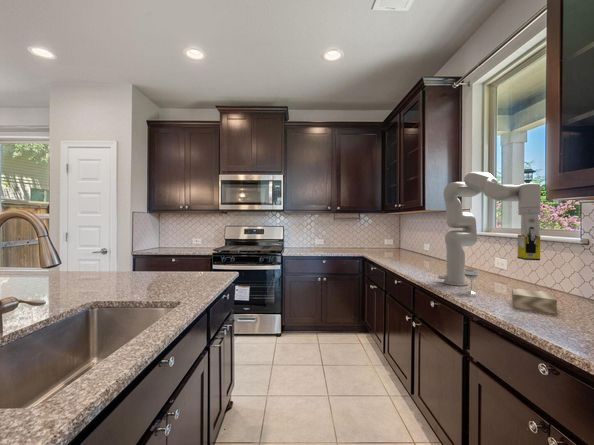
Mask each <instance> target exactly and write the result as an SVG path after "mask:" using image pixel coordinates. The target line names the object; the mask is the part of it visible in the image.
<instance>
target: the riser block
mask: <svg viewBox="0 0 594 445" xmlns="http://www.w3.org/2000/svg"><path fill="white" fill-rule="evenodd" d="M557 300H558V299H557V298H556V296H555V295H554V294H553V292H549V291H541V290H540V291H539V290H531V289H524V288H523V289H522V288H516V287H515V288H514V287H512V288H511V303H512V308H514V309H521V310H528V311H533V312H534V311H535V312H541V313H547V314H548V313H549V314H557V313H558V311H557V308H558V307H557V306H558V301H557Z"/></svg>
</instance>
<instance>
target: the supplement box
mask: <svg viewBox="0 0 594 445" xmlns="http://www.w3.org/2000/svg"><path fill="white" fill-rule="evenodd" d="M528 236H530V235H528ZM537 237H538V236H536V235H535V241H536V253H526V244H527V237H525V235H522V234H521V233H520V234H517V259H520V260H523V261H541V235H540V234H539V237H538V238H537Z"/></svg>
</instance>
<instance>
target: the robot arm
mask: <svg viewBox="0 0 594 445" xmlns="http://www.w3.org/2000/svg"><path fill="white" fill-rule="evenodd" d="M541 188H542V187H541V184H540V183H535V182H529V183H528V182H526V183H521V184H520V185H519V184H518V185H517V184H516V185H514V184H501V183H498V179H497V178H495V177H494V176H493V175H492V174H491V173H490V172H486V171H485V172H484V171H471V172H469V173H467V174H466V175H465V176H464V178H463V181H454V182H449V183H448V184H446V186H445V187H444V189H443V200H444V203H445V204H444V205H445V215H446V224H447V226H448V227H449V228H451V229H460V230H449V231H447V232H446V234H445V236H444V243H445V248H446V274H445V275H438V276H437V278H438V279H439V280H443V283H444V284H446V285H449V286H457V287H458V286H461V287H463V286H468V283H469V282H467V281H465V280H466V276H465V275H464V272H465V269H466V254H465V251H464V248H463V247H472V246H474V245H476V244H477V240H478V234H477V233H478V232H477V220H476V217H475V216H474V214H473V213H471V212H468V211H465V212H464V211H463V205H462V202H461V200H460V199H459V198H458V197H461V198H464V197H466V198H472V197H476V196H478V195H479V194H481V193H483V195H484V196H485V197H487V198H490V199H492V200H495V201H499V202H518V203H517V204H518V205H517V209H518V210H517V215H518V216H520V234H522V235H525V237H527V244H526V253H536V241H535V235H536V236H538V237H539V235H540V221H539V216H541ZM528 235H530V236H528ZM538 237H537V238H538Z"/></svg>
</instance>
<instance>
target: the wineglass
mask: <svg viewBox="0 0 594 445" xmlns="http://www.w3.org/2000/svg"><path fill="white" fill-rule="evenodd" d="M479 271H480V269H476V268H465V272H464V275H465V278H467V279H468V280H469V281H470V290H468V291H466V294H473V295H477V294H478V292H476V291H473V281H474V280H476V279H478V278H479V277H480V272H479Z"/></svg>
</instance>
